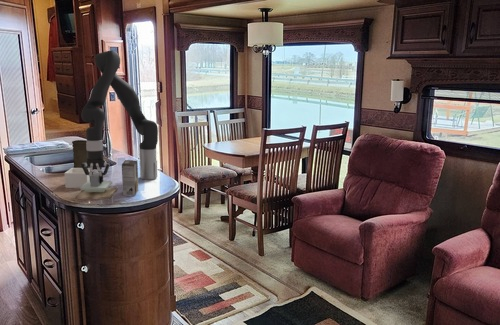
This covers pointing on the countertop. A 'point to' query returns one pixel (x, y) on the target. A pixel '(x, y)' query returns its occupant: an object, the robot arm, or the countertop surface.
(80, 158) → the container
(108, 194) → the board
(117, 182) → the countertop surface
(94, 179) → the lid
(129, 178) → the coffee box
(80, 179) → the bin
